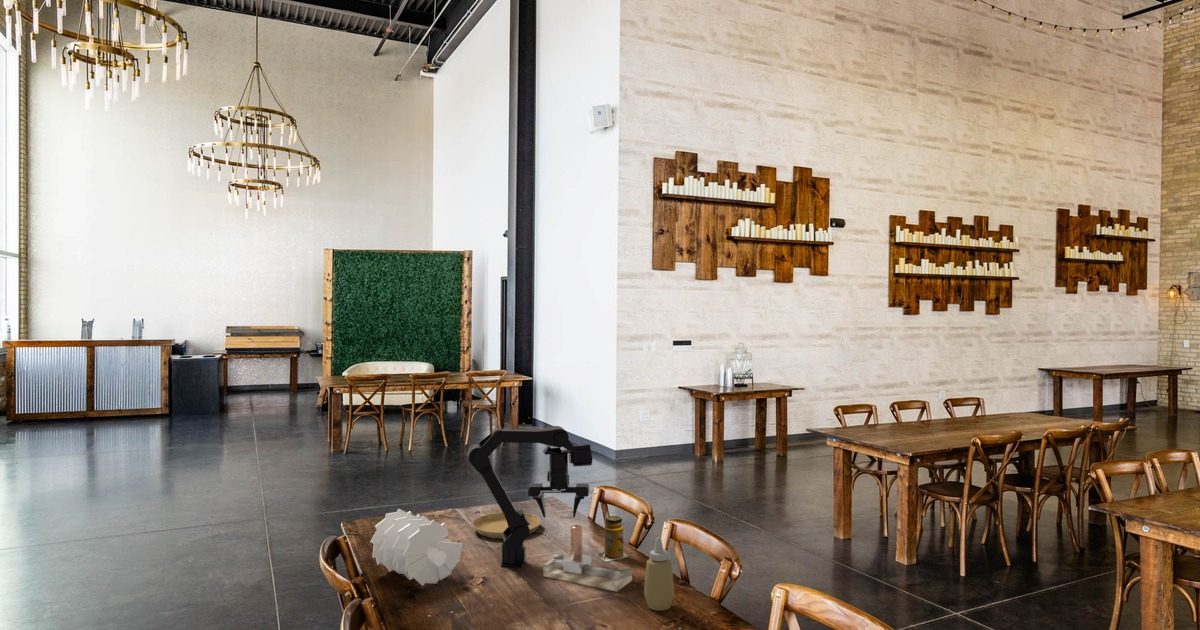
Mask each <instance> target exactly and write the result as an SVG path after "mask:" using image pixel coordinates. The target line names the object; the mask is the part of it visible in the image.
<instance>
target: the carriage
mask: <svg viewBox="0 0 1200 630" xmlns="http://www.w3.org/2000/svg"><path fill="white" fill-rule="evenodd" d="M592 560H593V558H592V555H587V554H583V526H582V525H579V524H575V525H572V526H570V555H568V556H566V557H564V559H563V560H562V566H564V571H565V572H570V573H575V574H580V575H582V574H583V566H585V565H590V566H591V563H592Z"/></svg>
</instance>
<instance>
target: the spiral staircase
mask: <svg viewBox="0 0 1200 630" xmlns="http://www.w3.org/2000/svg"><path fill="white" fill-rule="evenodd" d="M374 527H375V532H374V534H373V536H372V537H371V539H370V541H369V543H371V544H372V545H373V546H372V555H371V556H372V558H373V559H374V558H375V560H376V561H375V562H376V565H380V564H382V565H383V566H385V567H386V568H387V570H388V572H392V571H395V573H397V574H399V575H400V574H404V575H403V576H404V577H406V579H408V580H410V581H411V580H413V579H415V581H416V582H418V584H420V585H421V586H422V587H424V585H425V584H437V583H436V582H438V583H439V581H442V580H443V579H445V578H447V577H448V576H450V575H452V571H453V570H454V568H455V567H456V565H457V564H458V563H459V561H460V560H461V557H460V556H461V553H462V549H463V545H464V543H463V542H452V540H450V539H447V536H448V535H449V532H448V529H447V527H446V524H445V522H443V523H441V524H440V523H438V522H437V521H435V519H432V520H430V519H429V518H427V517H425V515H422V516H421V515H420V514H419V513H418V514H417V515H416V516H415V515H413V514H412V512H411V511H410V510H409V511H405V510H403V509H401V508H398V509H397V511H396V512H388V513H385V517H384V518H383V519H382V520H381V521H380V522H378V523H377V524H376V525H374ZM445 537H446V539H445Z"/></svg>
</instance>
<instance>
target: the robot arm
mask: <svg viewBox="0 0 1200 630" xmlns="http://www.w3.org/2000/svg"><path fill="white" fill-rule="evenodd" d="M569 439H570V436H569V434H568V432H567V431H566V429H564V428H563V426H559V425H554V426H553V425H552V426H548V427H544V428H538V429H527V428H526V429H522V428H521V429H520V428H519V429H518V428H517V429H516V428H515V429H514V428H513V429H512V428H500V427H499V428H498V427H497V428H495V429H493V430H492V431H491V433H489V434H488V435H487V436H485V437H484V438H483V439H482V440H480V441H479V442H478V443H475V444H473V445H471V446H470V447H469V448H468V450H467V457H468V461H469V463H470V465H471V466H472V467H473V469H475V471H477V473H478V474H480V476H481V477H482V478H483V479H484V481H485V483H486V485H487V487H488V488H489V490H490V492H491V494H492V495H493V497H494V500H495V501H496V503H497V504H498V506H499V508H500V510H501V511H502V512H503V513H504V515H505V518H506V521H507V524H508V527H507V529H506V530H505V531H504V532H503V533H502V535H503V539H502V540H503V542H502V543H501V560H502V561H501V563H500V566H501V567H522V566H523V565H524V563H525V562H526V558H527V557H526V556H527V555H526V546H525V540H526V539H527V538H528V537H529V535H530V534H529V532H530V529H529V526H528V525H530V523H529V521H528V519H527V518H526V517H525V516H524V513H525V512H524V511H523V509H522V508H519V509H517V508H516V507H515V506H514V505H513V502H512V501H511V499H510V497H509V496H508V494H507V491H506V490H505V488H504V487H503V484H501V481H500V479H499V478H498V476H497V474H496V473H495V470H494V469H493V466H492V463H491V460H490V457H489V456H490V455H492V454H493V452H494V451H495V450H496V449H498V447H499V446H500V445H501V444H502V443H512V444H513V443H514V444H517V443H519V444H523V443H524V444H542V445H545V446H546V447H545V448H544V449H543V450H542V453H543V454H544V455H546V456H547V455H548V456H549V459H548V460H549V461H548V462H549V470H547V473H546V475H547V476H546V480H547V481H546V482H548V483H549V486H544V485H543V483H538V482H537V483H531V484H530V485H529V487H528V488H527V496H528V497H531V498H532V499H533V500H535V502H536V503H537V505H538V507H539V509H540V511H541V512H540V513H542V516H543V518H544V519H545V518H546V517H547V516H546V515H547V512H546V503H545V494H575V496H574V501H573V502H574V503H573V510H572V511H573V512H572V517H573V518H574V519H575V518H576V515H577V511H578V508H579V505H580V503H581V500H585V498H587V497H589V496H590V484H588V483H576V486H570V475H569V464H572V466H573V467H588V466H592V465H593V455H592V449H591V444H590V443H582V444H573V442H571V440H569ZM561 448H563V449H561ZM568 461H569V462H568Z"/></svg>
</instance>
